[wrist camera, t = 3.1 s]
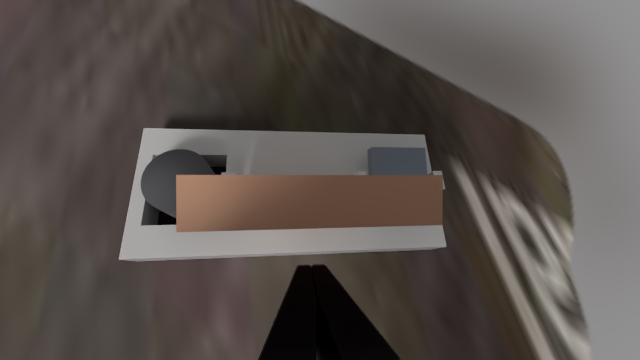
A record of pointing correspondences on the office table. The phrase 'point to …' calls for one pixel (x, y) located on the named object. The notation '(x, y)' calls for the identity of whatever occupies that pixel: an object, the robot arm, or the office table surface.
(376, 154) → the rocker switch
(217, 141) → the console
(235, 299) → the office table surface
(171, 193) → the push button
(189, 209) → the paddle lever
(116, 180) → the office table surface
